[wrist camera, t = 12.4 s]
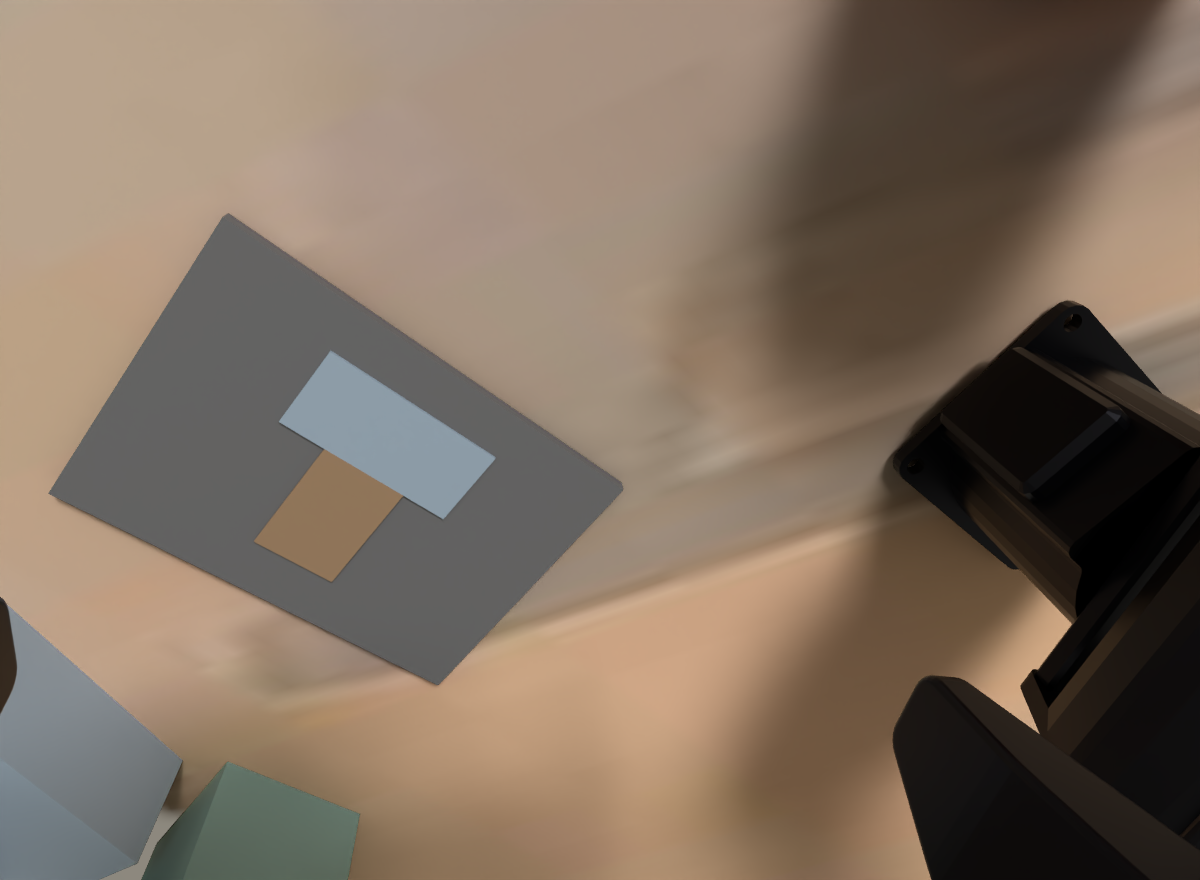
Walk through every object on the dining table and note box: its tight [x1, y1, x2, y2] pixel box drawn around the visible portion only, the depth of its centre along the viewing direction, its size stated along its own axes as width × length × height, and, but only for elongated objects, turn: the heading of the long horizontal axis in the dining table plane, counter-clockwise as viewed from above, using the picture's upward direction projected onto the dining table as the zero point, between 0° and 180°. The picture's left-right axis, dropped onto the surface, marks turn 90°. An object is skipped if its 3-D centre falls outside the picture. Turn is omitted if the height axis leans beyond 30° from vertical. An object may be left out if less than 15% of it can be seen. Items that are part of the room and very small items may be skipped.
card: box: [48, 213, 623, 685], centre depth 21 cm, size 12×9×1 cm
